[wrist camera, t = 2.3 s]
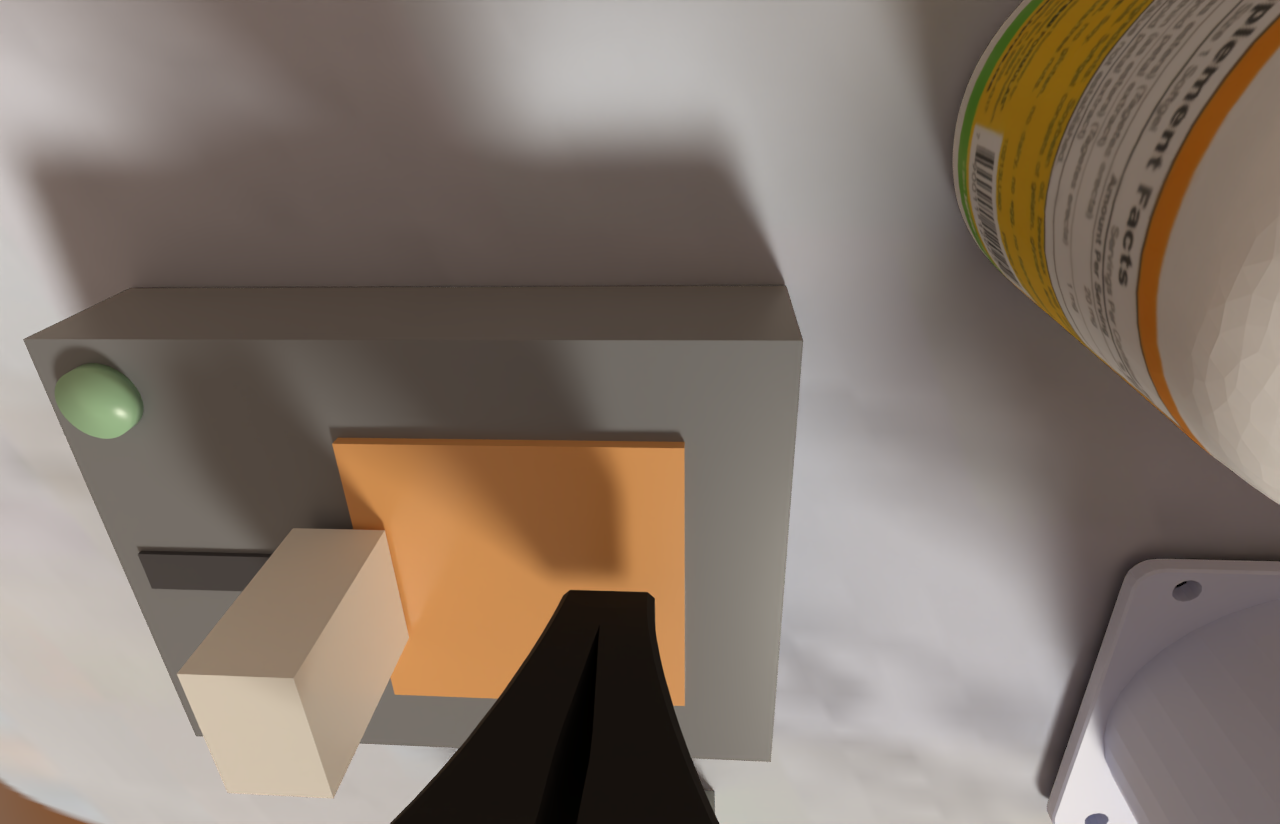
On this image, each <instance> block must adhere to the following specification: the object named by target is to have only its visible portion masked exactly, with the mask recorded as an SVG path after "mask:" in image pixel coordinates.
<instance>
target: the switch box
mask: <svg viewBox="0 0 1280 824" xmlns="http://www.w3.org/2000/svg"><path fill="white" fill-rule="evenodd" d="M23 340H24V342H25V344H26V347H27V349H28V351H29V354H30V356H31V358H32V361H33V363H34V365H35V367H36V370H37V372H38V374H39V377H40V379H41V381H42V384H43V386H44V388H45V390H46V393H47V395H48V397H49V400H50V402H51V404H52V406H53V409H54V411H55V413H56V416H57V418H58V420H59V423H60V425H61V427H62V429H63V432H64V434H65V436H66V439H67V441H68V443H69V445H70V448H71V450H72V452H73V455H74V457H75V459H76V462H77V464H78V466H79V468H80V471H81V473H82V475H83V478H84V480H85V482H86V485H87V487H88V489H89V491H90V494H91V496H92V498H93V501H94V503H95V505H96V507H97V510H98V512H99V514H100V517H101V519H102V521H103V524H104V526H105V528H106V530H107V533H108V535H109V537H110V540H111V542H112V544H113V547H114V549H115V551H116V553H117V556H118V558H119V560H120V563H121V565H122V567H123V569H124V572H125V574H126V576H127V579H128V581H129V583H130V586H131V588H132V590H133V592H134V595H135V597H136V599H137V602H138V604H139V606H140V609H141V611H142V613H143V615H144V618H145V620H146V622H147V625H148V627H149V629H150V631H151V634H152V636H153V638H154V641H155V643H156V645H157V648H158V650H159V652H160V654H161V657H162V659H163V661H164V664H165V666H166V668H167V670H168V673H169V675H170V677H171V680H172V682H173V684H174V687H175V689H176V691H177V693H178V696H179V698H180V700H181V703H182V705H183V707H184V710H185V712H186V714H187V716H188V719H189V721H190V723H191V726H192V728H193V730H194V732H195V735H196V736H203V734H202V732H201V729H200V727H199V725H198V722H197V720H196V718H195V715H194V713H193V711H192V708H191V706H190V704H189V701H188V699H187V697H186V694H185V692H184V690H183V687H182V685H181V683H180V680H179V678H178V676H177V673H178V672H179V670H180V669H181V668H182V667H183V665H184V664H185V663H186V662H187V660H188V659H189V658H190V657H191V655H192V654H193V653H194V652H195V650H196V649H197V648H198V647H199V645H200V644H201V643H202V642H203V640H204V639H205V638H206V637H207V635H208V634H209V633H210V632H211V630H212V629H213V628H214V627H215V625H216V624H217V623H218V621H219V620H220V619H221V618H222V616H223V615H224V614H225V613H226V611H227V610H228V609H229V608H230V606H231V605H232V604H233V603H234V601H235V600H236V599H237V598H238V596H239V595H240V594H241V593H242V591H243V590H244V589H245V588H246V586H247V585H248V584H249V583H250V581H251V580H252V579H253V578H254V576H255V575H256V574H257V573H258V571H259V570H260V569H261V568H262V566H263V565H264V564H265V563H266V561H267V560H268V559H269V558H270V556H271V555H272V554H273V552H274V551H275V550H276V549H277V547H278V546H279V545H280V544H281V542H282V541H283V540H284V539H285V537H286V536H287V535H288V534H289V532H290V531H291V530H292V529H293V528H308V529H353V530H385V533H386V537H387V542H388V546H389V551H390V555H391V560H392V564H393V568H394V573H395V577H396V582H397V586H398V590H399V595H400V599H401V604H402V608H403V613H404V617H405V621H406V626H407V630H408V635H409V639H408V641H407V643H406V645H405V647H404V650H403V652H402V654H401V656H400V658H399V660H398V662H397V664H396V667H395V669H394V671H393V673H392V675H391V677H390V679H389V681H388V684H387V686H386V688H385V690H384V692H383V694H382V696H381V698H380V701H379V703H378V705H377V707H376V709H375V711H374V713H373V715H372V717H371V720H370V722H369V724H368V726H367V728H366V730H365V732H364V734H363V737H362V739H361V741H360V743H362V744H385V745H407V746H430V747H452V748H460V747H461V745H462V744H463V743H464V742H465V741H466V739H467V738H468V737H469V736H470V734H471V733H472V732H473V730H474V729H475V728H476V726H477V725H478V724H479V723H480V721H481V720H482V719H483V717H484V716H485V715H486V714H487V712H488V711H489V710H490V708H491V707H492V706H493V705H494V703H495V702H496V701H497V699H498V698H499V697H500V695H501V694H502V692H503V691H504V690H505V688H506V687H507V685H508V684H509V682H510V681H511V679H512V678H513V676H514V675H515V674H516V672H517V671H518V669H519V668H520V666H521V665H522V663H523V662H524V660H525V659H526V658H527V656H528V655H529V653H530V651H531V650H532V648H533V647H534V645H535V644H536V642H537V640H538V639H539V637H540V636H541V634H542V632H543V631H544V629H545V627H546V626H547V624H548V622H549V621H550V619H551V617H552V615H553V614H554V612H555V610H556V608H557V606H558V604H559V603H560V601H561V599H562V597H563V595H564V594H565V593H567V592H568V591H569V590H594V591H630V592H648V593H649V594H651V595H652V596H653V597H654V598H655V626H656V637H657V643H658V648H659V653H660V658H661V663H662V667H663V671H664V675H665V679H666V682H667V686H668V689H669V693H670V696H671V700H672V703H673V707H674V710H675V713H676V716H677V719H678V722H679V725H680V728H681V731H682V734H683V737H684V739H685V742H686V745H687V748H688V750H689V753H690V756H691V758H699V759H721V760H744V761H766V762H771V751H772V738H773V725H774V712H775V699H776V686H777V673H778V660H779V647H780V634H781V621H782V608H783V595H784V582H785V569H786V556H787V543H788V530H789V517H790V504H791V491H792V478H793V465H794V452H795V439H796V426H797V413H798V400H799V387H800V374H801V361H802V348H803V339H802V336H801V332H800V329H799V326H798V323H797V319H796V316H795V313H794V309H793V306H792V303H791V300H790V296H789V293H788V290H787V287H786V286H534V287H278V288H129V289H127V290H125V291H123V292H121V293H119V294H117V295H115V296H113V297H111V298H108V299H106V300H104V301H102V302H100V303H98V304H96V305H94V306H92V307H90V308H88V309H85V310H83V311H81V312H79V313H77V314H75V315H73V316H71V317H69V318H67V319H65V320H62V321H60V322H58V323H56V324H54V325H52V326H50V327H48V328H46V329H44V330H42V331H40V332H37V333H35V334H33V335H31V336H29V337H27V338H25V339H23Z"/></svg>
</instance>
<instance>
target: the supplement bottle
mask: <svg viewBox="0 0 1280 824" xmlns="http://www.w3.org/2000/svg"><path fill="white" fill-rule="evenodd" d="M953 180H954V187H955V193H956V198H957V202H958V205H959V209H960V212H961V214H962V217H963V220H964V222H965V224H966V226H967V228H968V230H969V232H970V234H971V236H972V237H973V239H974V241H975V242H976V244H977V245H978V247H979V248H980V249H981V251H982V252H983V253H984V255H985V256H986V257H987V258H988V259H989V260H990V261H991V263H992V264H993V265H994V266H995V267H996V268H997V269H998V270H999V271H1000V272H1001V273H1002V274H1003V275H1004V276H1005V277H1006V278H1007V279H1008V280H1009V281H1011V282H1012V283H1013V284H1014V285H1015V286H1016V287H1017V288H1018V289H1019V290H1020V291H1022V292H1023V293H1024V294H1025V295H1026V296H1027V297H1028V298H1030V299H1031V300H1032V301H1033V302H1034V303H1035V304H1036V305H1038V306H1039V307H1040V308H1041V309H1042V310H1043V311H1045V312H1046V313H1047V314H1048V315H1050V316H1051V317H1052V318H1053V319H1054V320H1055V321H1057V322H1058V323H1059V324H1060V325H1061V326H1062V327H1063V328H1065V329H1066V330H1067V331H1068V332H1069V333H1070V334H1072V335H1073V336H1074V337H1075V338H1076V339H1077V340H1079V341H1080V342H1081V343H1082V344H1083V345H1084V346H1085V347H1087V348H1088V349H1089V350H1090V351H1091V352H1092V353H1094V354H1095V355H1096V356H1097V357H1098V358H1099V359H1100V360H1102V361H1103V362H1104V363H1105V364H1106V365H1107V366H1109V367H1110V368H1111V369H1112V370H1113V371H1114V372H1115V373H1117V374H1118V375H1119V376H1120V377H1121V378H1122V379H1124V380H1125V381H1126V382H1127V383H1128V384H1129V385H1130V386H1132V387H1133V388H1134V389H1135V390H1136V391H1137V392H1138V393H1140V394H1141V395H1142V396H1143V397H1144V398H1145V399H1147V400H1148V401H1149V402H1150V403H1151V404H1152V405H1153V406H1155V407H1156V408H1157V409H1158V410H1159V411H1160V412H1161V413H1163V414H1164V415H1165V416H1166V417H1167V418H1168V419H1169V420H1171V421H1172V422H1173V423H1174V424H1175V425H1176V426H1177V427H1178V428H1180V429H1181V430H1182V431H1183V432H1184V433H1185V434H1186V435H1187V436H1188V437H1190V438H1191V439H1192V440H1193V441H1194V442H1195V443H1197V444H1198V445H1199V446H1200V447H1201V448H1203V449H1204V450H1205V451H1206V452H1207V453H1209V454H1210V455H1211V456H1213V457H1214V458H1215V459H1217V460H1218V461H1220V462H1221V463H1222V464H1224V465H1225V466H1226V467H1228V468H1229V469H1230V470H1231V471H1233V472H1234V473H1235V474H1237V475H1238V476H1239V477H1241V478H1242V479H1243V480H1244V481H1246V482H1247V483H1248V484H1250V485H1251V486H1253V487H1254V488H1255V489H1257V490H1258V491H1260V492H1261V493H1263V494H1264V495H1265V496H1267V497H1268V498H1270V499H1271V500H1273V501H1274V502H1276V503H1278V504H1279V505H1280V0H1023V1H1022V3H1021V4H1020V5H1019V6H1018V7H1017V8H1016V9H1015V11H1014V12H1013V13H1012V14H1011V15H1010V16H1009V18H1008V19H1007V20H1006V21H1005V22H1004V23H1003V25H1002V26H1001V27H1000V29H999V30H998V32H997V33H996V34H995V36H994V37H993V39H992V40H991V42H990V43H989V45H988V46H987V48H986V50H985V51H984V53H983V54H982V56H981V58H980V60H979V62H978V63H977V65H976V67H975V69H974V72H973V74H972V76H971V78H970V81H969V83H968V85H967V88H966V91H965V94H964V97H963V100H962V103H961V106H960V109H959V114H958V118H957V123H956V128H955V135H954V143H953Z"/></svg>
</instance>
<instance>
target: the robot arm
mask: <svg viewBox="0 0 1280 824" xmlns="http://www.w3.org/2000/svg"><path fill="white" fill-rule="evenodd" d="M1184 581H1187V583H1186V584H1184V585H1182V586H1180V587H1176V586H1177V585H1178V584H1180V583H1182V582H1184ZM1175 587H1176V588H1175ZM1047 812H1048V814H1049V816H1050V819H1051V821H1052V823H1053V824H1280V561H1238V560H1195V559H1151V560H1146V561H1143V562H1141V563H1138V564H1136V565H1135V566H1134V567H1133V568H1131V569H1130V570H1129V571H1128V573H1127V575H1126V576H1125V578H1124V581H1123V583H1122V586H1121V589H1120V592H1119V595H1118V598H1117V601H1116V604H1115V607H1114V610H1113V613H1112V616H1111V619H1110V622H1109V624H1108V627H1107V630H1106V633H1105V636H1104V639H1103V642H1102V645H1101V648H1100V651H1099V654H1098V657H1097V660H1096V663H1095V665H1094V668H1093V671H1092V674H1091V677H1090V680H1089V683H1088V686H1087V689H1086V692H1085V695H1084V698H1083V701H1082V704H1081V706H1080V709H1079V712H1078V715H1077V718H1076V721H1075V724H1074V727H1073V730H1072V733H1071V736H1070V739H1069V742H1068V745H1067V747H1066V750H1065V753H1064V756H1063V759H1062V762H1061V765H1060V768H1059V771H1058V774H1057V777H1056V780H1055V783H1054V786H1053V788H1052V791H1051V794H1050V797H1049V800H1048V803H1047ZM390 824H719V822H718V820H717V818H716V816H715V813H714V811H713V809H712V807H711V804H710V802H709V800H708V798H707V795H706V793H705V791H704V788H703V786H702V784H701V781H700V779H699V776H698V774H697V771H696V769H695V766H694V764H693V761H692V759H691V756H690V753H689V750H688V748H687V745H686V742H685V739H684V737H683V734H682V731H681V728H680V725H679V722H678V719H677V716H676V713H675V710H674V707H673V703H672V700H671V696H670V693H669V689H668V686H667V682H666V679H665V675H664V671H663V667H662V663H661V658H660V653H659V648H658V643H657V637H656V626H655V598H654V597H653V596H652V595H651V594H649V593H648V592H630V591H594V590H569V591H568V592H567V593H565V594H564V595H563V597H562V599H561V601H560V603H559V604H558V606H557V608H556V610H555V612H554V614H553V615H552V617H551V619H550V621H549V622H548V624H547V626H546V627H545V629H544V631H543V632H542V634H541V636H540V637H539V639H538V640H537V642H536V644H535V645H534V647H533V648H532V650H531V651H530V653H529V655H528V656H527V658H526V659H525V660H524V662H523V663H522V665H521V666H520V668H519V669H518V671H517V672H516V674H515V675H514V676H513V678H512V679H511V681H510V682H509V684H508V685H507V687H506V688H505V690H504V691H503V692H502V694H501V695H500V697H499V698H498V699H497V701H496V702H495V703H494V705H493V706H492V707H491V708H490V710H489V711H488V712H487V714H486V715H485V716H484V717H483V719H482V720H481V721H480V723H479V724H478V725H477V726H476V728H475V729H474V730H473V732H472V733H471V734H470V736H469V737H468V738H467V739H466V741H465V742H464V743H463V744H462V745H461V747H460V748H459V749H458V750H457V751H456V753H455V754H454V755H453V756H452V757H451V759H450V760H449V761H448V762H447V763H446V764H445V766H444V767H443V768H442V769H441V770H440V771H439V772H438V774H437V775H436V776H435V777H434V778H433V779H432V780H431V781H430V782H429V783H428V785H427V786H426V787H425V788H424V789H423V790H422V791H421V792H420V793H419V794H418V795H417V797H416V798H415V799H414V800H413V801H412V802H411V803H410V804H409V805H408V806H407V807H406V808H405V809H404V810H403V811H402V812H401V813H400V814H399V815H398V816H397V817H396V818H395V819H394V820H393V821H392V822H391V823H390Z"/></svg>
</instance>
